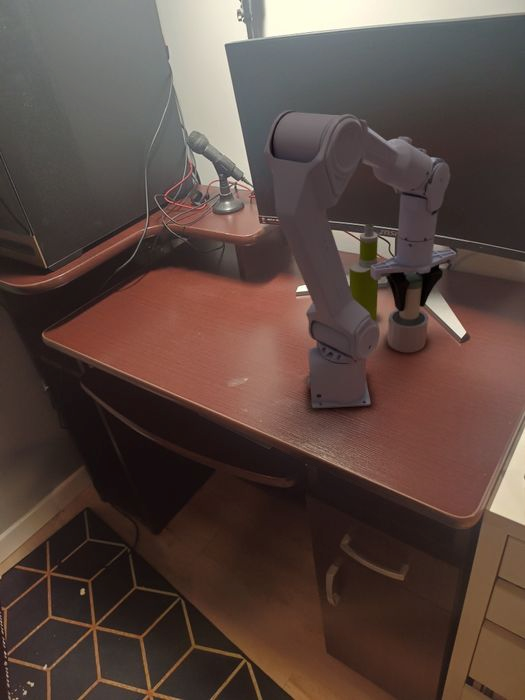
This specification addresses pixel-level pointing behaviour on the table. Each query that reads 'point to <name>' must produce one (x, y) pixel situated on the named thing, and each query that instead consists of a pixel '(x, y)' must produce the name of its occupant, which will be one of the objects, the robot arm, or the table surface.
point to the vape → (365, 272)
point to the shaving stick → (412, 297)
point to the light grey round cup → (407, 332)
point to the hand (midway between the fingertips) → (409, 306)
